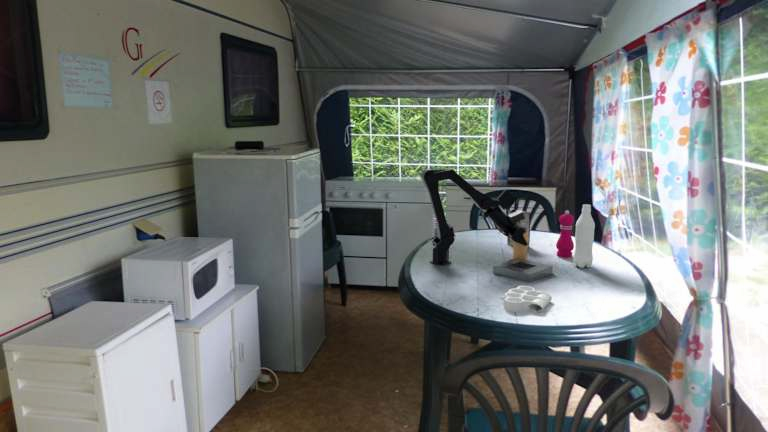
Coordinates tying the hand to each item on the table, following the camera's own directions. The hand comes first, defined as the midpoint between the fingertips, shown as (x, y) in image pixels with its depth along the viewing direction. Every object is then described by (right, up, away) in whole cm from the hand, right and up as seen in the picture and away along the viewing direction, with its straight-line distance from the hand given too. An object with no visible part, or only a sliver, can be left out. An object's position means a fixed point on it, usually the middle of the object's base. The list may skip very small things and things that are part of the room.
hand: (523, 243), depth 220 cm
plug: (-1, -7, +1) cm, 7 cm away
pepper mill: (+19, -6, +7) cm, 21 cm away
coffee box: (+4, -3, +25) cm, 25 cm away
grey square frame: (-5, -11, -17) cm, 21 cm away
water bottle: (+21, -9, -9) cm, 25 cm away
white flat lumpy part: (-13, -18, -49) cm, 54 cm away
